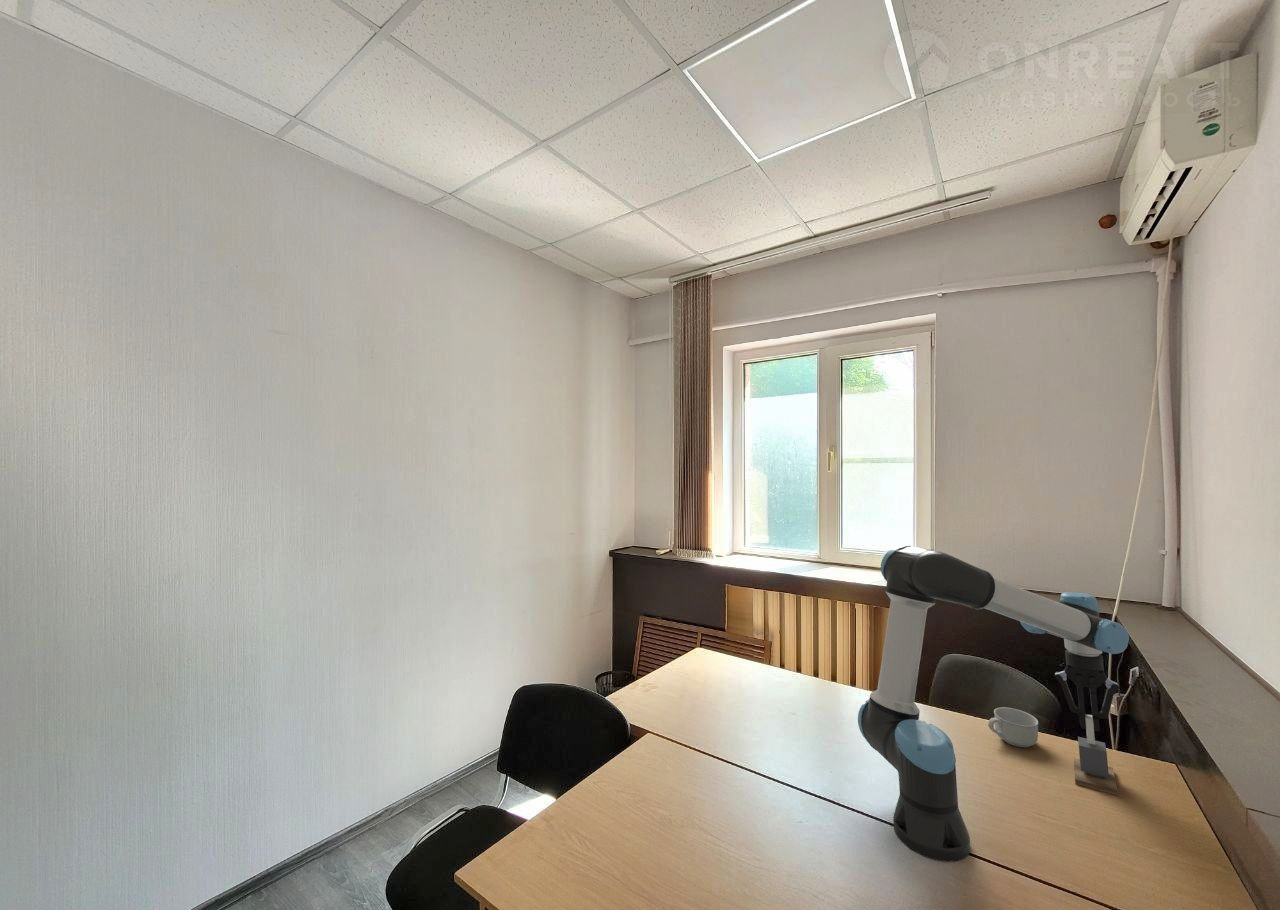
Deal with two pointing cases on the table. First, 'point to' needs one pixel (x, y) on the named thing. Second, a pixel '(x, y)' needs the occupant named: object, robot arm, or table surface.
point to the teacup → (1015, 726)
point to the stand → (1095, 779)
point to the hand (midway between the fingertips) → (1091, 741)
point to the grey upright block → (1093, 757)
